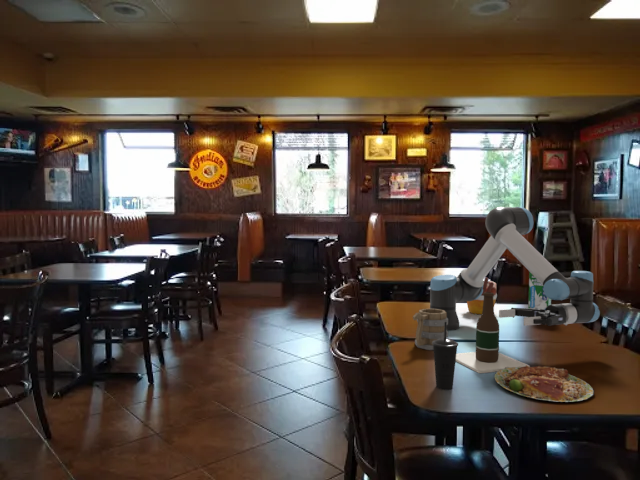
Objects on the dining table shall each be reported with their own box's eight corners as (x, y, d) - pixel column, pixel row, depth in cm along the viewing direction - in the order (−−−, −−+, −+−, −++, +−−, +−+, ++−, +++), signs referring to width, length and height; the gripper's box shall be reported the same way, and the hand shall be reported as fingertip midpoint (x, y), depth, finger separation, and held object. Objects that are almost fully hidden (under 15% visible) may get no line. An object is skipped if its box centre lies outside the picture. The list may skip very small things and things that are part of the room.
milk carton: (550, 318, 254) (552, 268, 252) (547, 321, 246) (549, 270, 245) (531, 315, 259) (532, 267, 257) (527, 319, 251) (529, 269, 250)
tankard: (427, 340, 209) (428, 304, 208) (454, 346, 200) (455, 308, 199) (398, 349, 195) (398, 310, 194) (425, 356, 186) (426, 315, 185)
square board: (446, 356, 186) (446, 354, 186) (493, 352, 192) (493, 350, 192) (479, 373, 167) (479, 371, 167) (529, 368, 173) (529, 365, 173)
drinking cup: (428, 383, 157) (429, 319, 156) (452, 382, 158) (453, 319, 157) (435, 391, 150) (437, 324, 148) (461, 391, 150) (462, 324, 149)
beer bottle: (500, 363, 175) (502, 294, 173) (476, 362, 176) (478, 294, 175) (496, 357, 182) (498, 291, 181) (474, 356, 184) (475, 290, 182)
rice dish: (608, 412, 138) (609, 392, 138) (502, 401, 143) (504, 382, 143) (575, 378, 166) (576, 362, 166) (487, 370, 171) (488, 354, 170)
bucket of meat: (460, 308, 276) (461, 272, 275) (491, 309, 275) (492, 273, 274) (468, 316, 256) (469, 277, 255) (502, 317, 255) (503, 278, 254)
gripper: (586, 332, 176) (535, 336, 170) (536, 317, 200) (490, 320, 193) (587, 310, 175) (536, 314, 169) (536, 298, 199) (490, 301, 193)
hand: (511, 317), depth 181 cm, fingers open, 13 cm apart
